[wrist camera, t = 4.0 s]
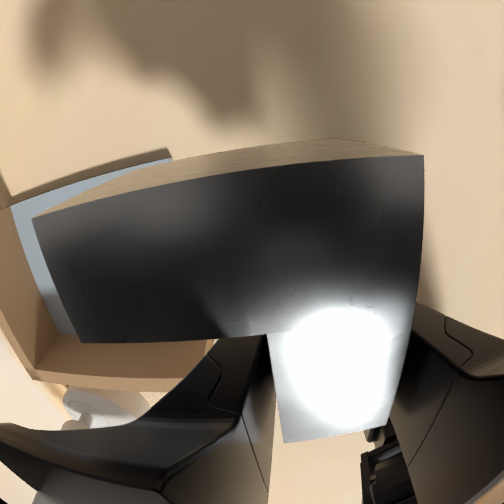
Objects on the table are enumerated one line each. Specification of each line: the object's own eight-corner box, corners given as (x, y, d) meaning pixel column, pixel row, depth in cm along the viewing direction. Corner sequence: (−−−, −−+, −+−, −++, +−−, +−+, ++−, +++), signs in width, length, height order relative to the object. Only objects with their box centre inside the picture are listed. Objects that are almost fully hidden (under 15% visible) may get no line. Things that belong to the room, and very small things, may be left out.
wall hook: (149, 515, 17) (51, 478, 16) (167, 438, 26) (81, 411, 25) (141, 488, 14) (18, 437, 13) (167, 391, 23) (65, 359, 22)
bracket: (335, 138, 8) (423, 155, 3) (343, 312, 10) (386, 424, 6) (136, 169, 8) (31, 218, 4) (180, 331, 11) (146, 443, 6)
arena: (171, 157, 15) (137, 170, 11) (214, 337, 20) (204, 391, 15) (6, 207, 16) (-39, 230, 12) (59, 341, 21) (32, 379, 16)
